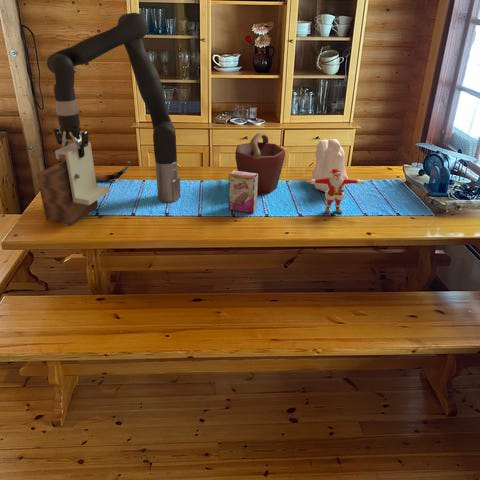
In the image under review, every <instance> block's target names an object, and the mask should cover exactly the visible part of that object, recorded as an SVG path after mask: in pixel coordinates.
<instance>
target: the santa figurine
mask: <svg viewBox="0 0 480 480" xmlns="http://www.w3.org/2000/svg"><path fill="white" fill-rule="evenodd" d="M331 172H333V173H332V174H333V177H330V178H323V179H313V178H312V179H309V180H305V182H304V183H308V184H311V185H312V184H313V185H314V184H315V183H321V184H328V187H329V190H328V191H326V192H325V193H324V197H325V200H326V203H325V207H326V208H325V210H324V214H330V209H331V207H332V204H333V203H334V202H335V203H334V207H335V213H337V214H342V213H343V210H341V208H340V207H341V203H342V200H343V199H344V198H345V192H343V191H342V190H343V189H344V188H343V186H344V184H348V185H350V184H351V185H352V184H356V185H361V184H362V185H365V183H367V182H366V181H365V180H360V179H358V178H357V179H354V178H348V179H347V178H342V177H341V176H340V175H341V171H340V170H339V169H333V170H332V171H331ZM331 172H329V173H331ZM342 188H343V189H342ZM341 189H342V190H341Z"/></svg>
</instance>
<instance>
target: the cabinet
mask: <svg viewBox="0 0 480 480" xmlns="http://www.w3.org/2000/svg"><path fill="white" fill-rule="evenodd" d="M36 176H37V180H38V186H39V191H40V196H41V200H42V201H41V202H42V207H43V211H44V216H45V217H44V218H45V221H46V222H49V223H50V222H51V223H54V224H55V223H56V224H60V225H66V226H69V227H70V226H71V227H72V226H74V225H75V224H76V223H78V222H80V221H81V220H82V219H84V218H85V217H86V216H88V215H89V213H90V212H91V213H93V212H94V211H96V210H97V209H98V208H99V205H98V200H96V201H95V202H93V203H92V204H90V205H86V204H80V203H75V202H73V197H72V191H71V185H70V179H69V173H68V167H67V161H66V159H64V160H62V161H59V163H56V164H54V165H52V166H50V167H48V168H46V169H43V170H41V171H40V172H37V173H36ZM97 207H98V208H97ZM96 208H97V209H96ZM95 209H96V210H95ZM93 210H94V211H93ZM92 211H93V212H92ZM91 213H90V214H91Z"/></svg>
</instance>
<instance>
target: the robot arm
mask: <svg viewBox="0 0 480 480" xmlns="http://www.w3.org/2000/svg"><path fill="white" fill-rule="evenodd" d="M148 31H149V22H148V19H147V18H146V17H145V16H144V15H143V14H141V13H139V12H129V13H128V12H127V13H124V14H122V15H120V16H119V18H118V20H117V25H116V26H113V27H112V28H110V29H108V30H105V31H103V32H100V33H97V34H94V35H93V36H90V37H87V38H85V39H83V40H82V41H80V42H77V43H76V44H74V45H72V46H69V47H66V48H63V49H60V50H57V51H55V52H53V53H52V54H50V55H49V57H48V58H47V60H46V67H47V69H48V70H49V71H50V72H51V73H52V74H54V77H55V78H54V79H55V84H54V85H53V93H54V98H55V99H54V100H55V109H56V115H57V121H58V126H60V127H56V128H54V129H53V133H54V136H55V139H56V144H58V145H61V147H62V148H63V147H65V146H67V145H69V143H70V140H71V141H73V143H75V144H76V145H77V147H78V153H79V158H83V157H84V156H85V153H84V147H86V146H88V142H89V131H88V130H82V128H81V119H80V114H79V113H80V112H79V108H78V107H79V106H78V103H77V98H76V92H75V67H76V66H82V65H83V66H84V65H86V64H88V63H90V62H92V61H93V60H95V59H97V58H99V57H101V56H103V55H105V54H106V53H108V52H110V51H112V50H114V49H116V48H118V47H120V46H122V45H124V47H125V50H126V52H127V55H128V58H129V61H130V66H131V69H132V71H133V75H134V78H135V82H136V86H137V88H138V91H139V94H140V96H141V99H142V100H143V103H144V105H145V107H146V109H147V110H148V114H149V116H150V120H151V124H152V129H153V132H152V141H153V152H154V153H153V154H154V155H153V156H154V162H155V163H154V164H155V176H156V191H157V199H158V201H161V202H164V203H165V202H166V203H171V202H173V203H175V202H176V201H178V200H179V199H180V198H181V193H182V192H181V178H180V176H179V173H178V156H177V155H178V154H177V137H176V135H177V134H176V128H175V126H174V124H173V122H172V120H171V117H170V115H169V113H168V109H167V105H166V100H165V95H164V89H163V84H162V81H161V78H160V76H159V72H158V70H157V68H156V66H155V65H154V62H153V61H152V60H151V59H150V57H149V55H148V53H147V51H146V49H145V45H144V41H143V40H142V39H143V38H145V36H146V35H147V34H148ZM79 143H80V144H79Z"/></svg>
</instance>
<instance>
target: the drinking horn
mask: <svg viewBox="0 0 480 480" xmlns="http://www.w3.org/2000/svg"><path fill="white" fill-rule="evenodd" d="M131 164H132V162H131V161H129V160H128V161H127V164H126V165H125V166H124V167H123V168H122V169H121V170H119V171H114V172H113V173H111V174H100V173H96V172H95V178H96V182H97V181H103V182H110V181H113V180H115V179H116V180H117V179H120V178H121V176H122V175H124V174H125V173H126V172H127V170H128V169H129V167H130V165H131Z"/></svg>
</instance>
